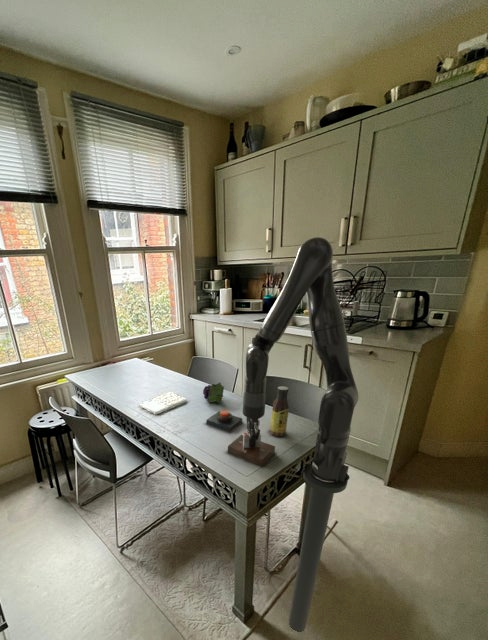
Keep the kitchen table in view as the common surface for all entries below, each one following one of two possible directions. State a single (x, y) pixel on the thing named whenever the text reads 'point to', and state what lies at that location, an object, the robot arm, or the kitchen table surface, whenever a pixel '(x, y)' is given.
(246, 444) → the tap lever
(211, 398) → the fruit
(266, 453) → the base
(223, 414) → the button
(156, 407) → the calculator
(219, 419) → the push button box
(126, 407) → the kitchen table surface
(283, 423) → the sauce bottle
